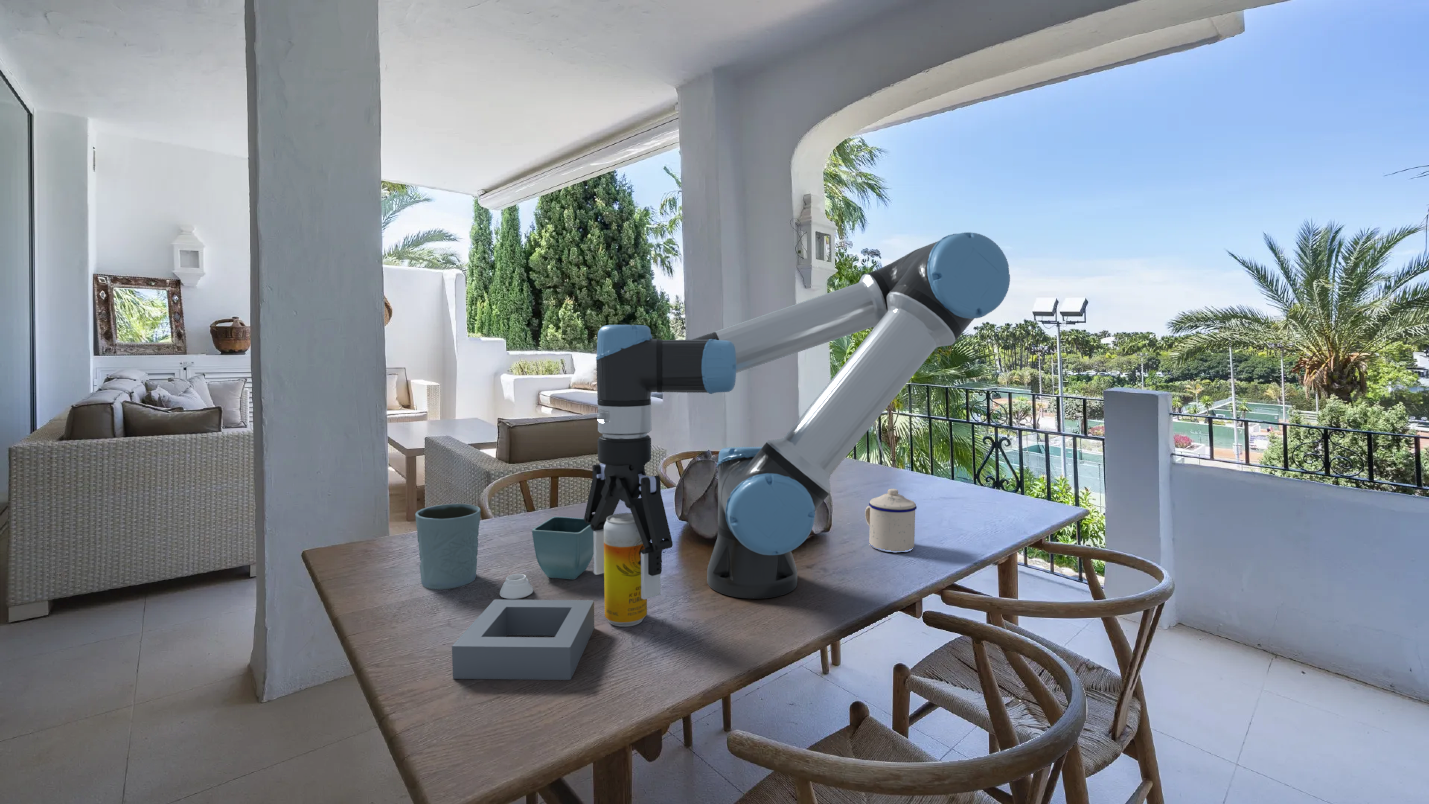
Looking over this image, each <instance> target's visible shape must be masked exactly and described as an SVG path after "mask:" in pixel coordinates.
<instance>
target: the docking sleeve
mask: <svg viewBox="0 0 1429 804" xmlns="http://www.w3.org/2000/svg"><path fill="white" fill-rule="evenodd" d="M594 630H595V600H592V599H588V600H587V599H586V600H585V599H584V600H583V599H496V598H495V599H493V600H492V602H490V604H489V605H488V606H487V607H486V608H485V609H484V610H483V611H482V612H481V613H480V614H479V615H478V616H477V618H476V619H475V620H474V621H473V623H471V625H469V627H468V628H467V629H466V630H464V632H463V634H461V635H460V637H458V639H457V640H456V641H455V642H454V643H453V644H452V645H451V657H452V659H451V660H452V661H451V662H452V663H451V664H452V679H453V680H460V679H461V680H533V681H534V680H535V681H536V680H537V681H538V680H545V681H546V680H547V681H549V680H550V681H551V680H553V681H554V680H555V681H559V680H560V681H562V680H563V681H571V680H572V678H573V676H574V673H575V672H576V669H577V667H578V665H579V662H580V660H581V658H582V656H583V654H584V651H585V649H586V647H587V645H588V643H589V640H590V639H591V636H592V634H593V631H594ZM522 636H523V637H522ZM525 636H527V637H525ZM528 636H529V637H528ZM533 636H534V637H533ZM536 636H537V637H536ZM538 636H539V637H538ZM540 636H544V637H540ZM551 636H552V637H551ZM553 636H554V637H553Z"/></svg>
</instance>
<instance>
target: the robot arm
mask: <svg viewBox="0 0 1429 804" xmlns="http://www.w3.org/2000/svg"><path fill="white" fill-rule="evenodd" d="M1008 262H1009V261H1008V259H1007V257H1006V255H1005V253H1004V251H1003V250H1002V248H1001V247H1000V246H999V245H998V244H997V243H996V241H994V240H993V239H992V238H989V237H987V236H985V235H983V234H980V233H977V232H971V231H970V232H969V231H968V232H966V231H965V232H961V233H953V234H948V235H946V236H943V237H942V238H941V239H939V240H937V241H935V242H932V243H930V244H927V245H925V246H922V247H920V248H919V247H918V248H917V249H914V250H913V251H911V252H909V253H908V254H905V255H904V256H902V257H900V258H898V259H897V260H895V261H892V262H890V263H889V264H886V265H884V266H883V267H880V268H878V269H875V270H872V271H870V272H867V273H864V274H862V275H861V277H860V279H859V281H858V282H857V283H854V284H851V285H847V286H845V287H843V288H839V289H836V290H833V291H831V292H828V293H825V294H821V295H818V296H816V297H813V298H810V299H807V300H805V301H800V302H798V303H796V304H793V305H789V306H787V307H783V308H781V309H777V310H774V311H771V312H768V313H766V314H763V315H759V316H757V317H754V318H751V319H748V320H745V321H743V322H739V323H736V324H734V325H731V326H727V327H725V328H722V329H719V330H716V331H714V332H711V333H708V334H707V333H706V334H704V335H701V336H698V337H695V338H692V339H668V340H667V339H657V338H653V335H652V334H651V333H652V332H651V328H650V327H649V326H648V325H643V324H607V325H606V324H605V325H602V326H601V327H600V329H599V330H598V332H597V342H596V345H597V346H596V357H595V361H596V392H597V393H596V394H597V395H596V397H597V414H596V419H597V432H599V433H600V434H602V435H600V436H599V437H598V438H597V459H598V462H599V464H593V466H592V479H591V485H590V489H589V493H588V497H587V498H588V499H587V503H586V508H585V512H584V516H583V517H584V521H585V523H590V527H591V529H592V530H593V539H594V540H593V547H594V554H593V574H594V575H597V576H598V575H602V574H604V525H605V522H606V519H607V517H608V516H611V515H614V514H615V511H616V508H617V507H618V504H619V502H620V501H621V502H624V505H625V507H626V508H628V509H629V510H630V513H632V515H633V518H634V521H635V524H636V526H637V529H638V532H639V534H640V537H641V540H642V542H643V545H644V548H645V549H643V550H642V551H641V598H642V599H644V600H645V599H647V600H649V599H651V598H654V597H657V596H660V595H661V573H662V571H663V569H662V568H663V562H662V561H663V556H662V555H663V554H662V553H663V551H664V550H667V549H671V548H673V544H674V543H673V540H672V539H673V538H672V535H671V531H670V526H669V522H668V517H667V513H666V509H665V504H664V502H663V501H664V500H663V497H662V496H663V495H662V491H661V490H662V489H661V487H662V486H661V477H660V476H659V475H652V476H650V475H647V472H646V464H648V463H650V461H651V460H652V438H651V437H650V435H648V434H650V432H651V431H652V398H651V397H652V393H659V394H660V393H661V394H662V393H683V394H685V393H687V394H688V393H689V394H690V393H691V394H693V393H695V394H697V393H698V394H699V393H700V394H702V393H703V394H707V393H708V395H709V394H710V395H712V394H716V393H718V394H719V393H730V392H731V391H733V390H734V388H735V386H736V380H737V374H738V373H740V372H744V371H747V370H750V369H753V368H756V367H759V366H762V365H765V364H768V363H770V362H773V361H777V360H779V359H782V358H785V357H788V356H791V355H795V354H797V353H801V352H804V351H806V350H808V349H812V348H815V347H818V346H820V345H823V344H827V343H830V342H833V341H835V340H838V339H841V338H844V337H847V336H850V335H853V334H856V333H859V332H862V331H864V330H867V329H871V328H872V330H871V331H870V332H869V333H868V335H866V337H865V338H864V339H863V341H862V342H861V343H860V344H859V346H857V348H856V349H855V350H854V352H853V353H852V354H851V355H850V357H848V359H847V360H846V362H844V364H843V365H842V366H841V368H840V369H839V370H838V371H837V372H836V374H835V375H834V376H833V377H832V379H831V380H829V382H828V383H827V385H826V386H825V387H824V388H823V389H822V391H821V392H820V393H819V394H818V395H817V397H816V398H815V399H814V401H813V402H812V403H811V404H810V405H809V406H808V408H807V409H806V410H805V411H804V413H803V414H802V415H801V416H800V417H799V419H798V420H797V421H796V422H795V424H794V425H792V427H791V428H790V430H789V431H788V432H787V434H785V436H784V437H782V438H778V439H770V440H769V439H768V440H767V441H766V442H765V443H764V445H763V446H736V447H735V446H733V447H730V446H729V447H723V448H722V449H720V450H719V452H718V459H717V463H716V468H717V471H718V472H717V476H718V477H717V490H718V491H717V539H716V541H715V543H714V547H713V550H712V553H711V556H710V558H709V562H708V565H707V570H706V571H707V573H706V575H707V577H706V579H707V580H706V582H707V585H708V586H709V587H710V588H711V589H712V590H714V591H715V592H718V593H719V594H723V595H726V596H729V597H733V598H740V599H754V600H755V599H757V600H758V599H759V600H760V599H771V598H772V599H773V598H775V597H781V596H784V595H786V594H789V593H791V592H793V591H794V590H796V588H797V586H798V569H797V566H796V561H795V559H794V556H793V553H792V552H793V550H796V549H798V548H799V546H801V545H802V544H803V543H804V542H805V541H806V540H807V539H808V537H809V536H810V534H811V532H812V531H813V527H814V524H815V516H816V511H817V510H818V508H819V507H820V506H821V505H822V503H823V502H824V501H825V500H826V498H827V497H828V496H829V495H830V494H831V493H832V491H831V481H830V479H831V475H833V473H834V472H835V470H836V469H837V468H838V467H839V466H840V465H841V463H842V462H843V461H844V460H845V458H846V457H847V456H849V453H851V451H852V450H853V449H854V447H856V445H857V444H858V442H860V440H862V438H863V437H864V436H865V434H866V433H867V432H868V431H869V430H870V428H871V427H872V426H873V425H874V423H875V422H876V421H877V420H878V418H879V417H880V416H881V415H882V413H884V411H885V410H886V409H887V408H888V406H889V405H890V404H891V403H892V402H893V401H894V399H895V398H896V397H897V396H898V394H899V393H900V392H901V391H902V389H903V388H905V386H906V384H907V383H908V382H909V381H910V380H911V379H912V377H914V375H915V374H916V372H917V371H918V370H919V369H920V368H921V366H922V365H923V364H924V363H925V362H926V361H927V359H928V358H929V357H930V356H931V354H933V352H934V351H935V349H936V348H939V347H947V346H952V345H953V344H954V343H955V342H956V341H957V340H958V339H959V337H960V336H961V335H962V334H963V333H964V332H965V330H966V329H967V328H968V327H969V325H970V324H971V323H972V322H973V321H974V320H975V319H981V318H982V317H985V316H987V315H988V314H990V313H992V312H993V311H996V309H997V308H998V307H999V306H1000V305H1001V304H1002V303H1003V301H1004V299H1006V297H1007V294H1008V291H1009V288H1010V283H1011V275H1010V269H1009V267H1010V265H1009V263H1008Z"/></svg>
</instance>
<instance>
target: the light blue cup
mask: <svg viewBox="0 0 1429 804" xmlns="http://www.w3.org/2000/svg"><path fill="white" fill-rule="evenodd" d="M481 512H482V511H481V508H480V507H479V506H477V505H474V504H468V503H448V504H447V503H446V504H445V503H444V504H438V505H436V504H435V505H432V506H428V507H423V508H421V509H418V510H417V511H416V512H415V514H414V515H415V523H416V524H415V525H416V531H417V532H416V533H417V534H416V535H417V543H418V552H419V553H418V555H419V560H420V565H419V571H420V582H421V585H422V586H423V587H424V588H426V589H430V590H449V589H454V588H459V587H463V586H466V585H469V584H470V583H472V582H474V581H475V580H476V577H477V569H478V568H477V566H478V554H479V553H478V552H479V551H478V550H479V548H478V547H479V528H480V523H481Z"/></svg>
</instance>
